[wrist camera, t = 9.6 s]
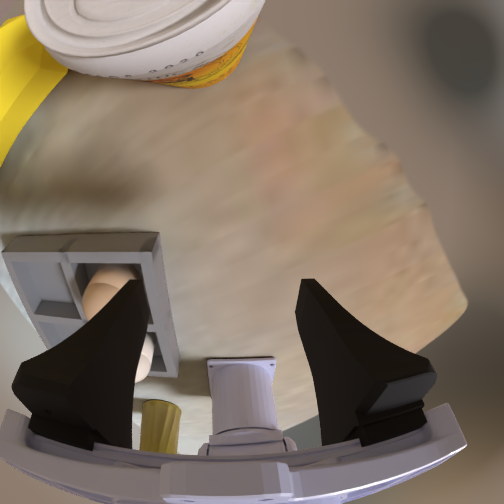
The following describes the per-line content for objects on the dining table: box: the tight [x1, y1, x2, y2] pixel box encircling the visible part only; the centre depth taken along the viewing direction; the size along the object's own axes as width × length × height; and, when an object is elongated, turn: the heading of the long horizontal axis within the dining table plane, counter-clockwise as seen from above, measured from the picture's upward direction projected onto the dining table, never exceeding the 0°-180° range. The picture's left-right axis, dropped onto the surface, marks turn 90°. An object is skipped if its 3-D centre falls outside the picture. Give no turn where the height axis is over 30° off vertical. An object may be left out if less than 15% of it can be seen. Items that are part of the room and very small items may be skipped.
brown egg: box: [82, 263, 141, 321], centre depth 21 cm, size 4×4×6 cm
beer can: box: [24, 0, 265, 89], centre depth 9 cm, size 6×6×15 cm
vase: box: [140, 400, 181, 454], centre depth 31 cm, size 6×6×14 cm
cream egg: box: [135, 332, 156, 383], centre depth 25 cm, size 4×4×6 cm
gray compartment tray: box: [1, 232, 180, 378], centre depth 24 cm, size 16×16×3 cm
